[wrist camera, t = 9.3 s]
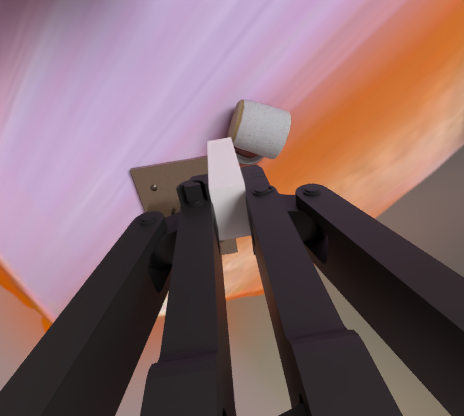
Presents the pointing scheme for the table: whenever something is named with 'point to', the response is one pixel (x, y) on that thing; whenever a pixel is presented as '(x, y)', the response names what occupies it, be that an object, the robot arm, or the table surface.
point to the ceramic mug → (258, 130)
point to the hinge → (171, 188)
